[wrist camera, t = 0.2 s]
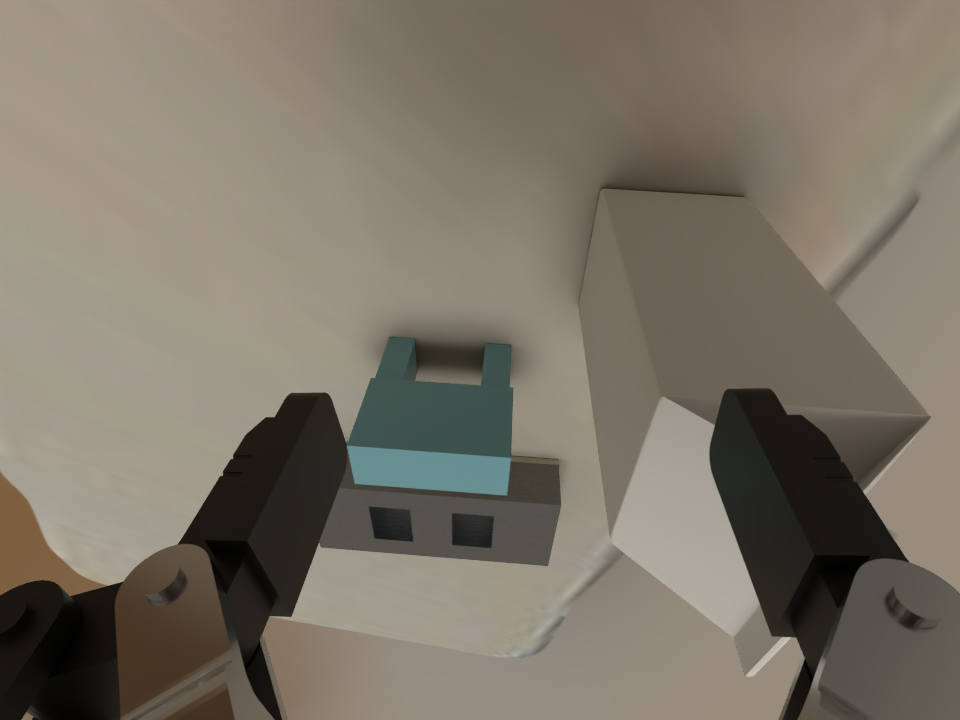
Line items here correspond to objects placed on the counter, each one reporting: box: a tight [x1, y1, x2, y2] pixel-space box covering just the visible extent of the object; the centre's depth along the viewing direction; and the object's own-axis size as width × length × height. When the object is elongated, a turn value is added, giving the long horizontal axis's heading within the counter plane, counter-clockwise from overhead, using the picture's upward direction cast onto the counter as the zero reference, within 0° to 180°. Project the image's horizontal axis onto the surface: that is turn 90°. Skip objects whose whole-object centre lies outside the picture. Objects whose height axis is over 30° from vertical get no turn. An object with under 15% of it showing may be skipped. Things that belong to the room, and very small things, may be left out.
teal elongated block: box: [347, 337, 513, 496], centre depth 29 cm, size 8×3×9 cm, turn 88°
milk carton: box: [579, 189, 931, 676], centre depth 20 cm, size 7×7×19 cm
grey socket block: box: [319, 444, 561, 566], centre depth 40 cm, size 18×8×4 cm, turn 88°
